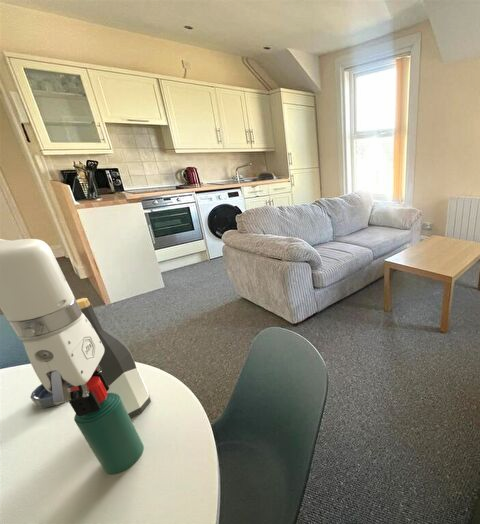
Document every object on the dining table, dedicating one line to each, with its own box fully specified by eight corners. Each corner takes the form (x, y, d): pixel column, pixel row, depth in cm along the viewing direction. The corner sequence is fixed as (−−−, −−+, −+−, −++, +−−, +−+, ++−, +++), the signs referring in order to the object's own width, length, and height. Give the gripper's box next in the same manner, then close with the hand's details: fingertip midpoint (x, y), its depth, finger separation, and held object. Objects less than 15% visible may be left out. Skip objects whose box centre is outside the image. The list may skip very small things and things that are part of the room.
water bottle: (97, 479, 54) (52, 407, 47) (113, 446, 60) (75, 378, 53) (136, 468, 56) (98, 397, 48) (148, 437, 62) (116, 370, 54)
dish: (26, 413, 69) (20, 404, 68) (51, 385, 77) (46, 376, 76) (70, 403, 71) (65, 394, 70) (90, 377, 79) (86, 369, 78)
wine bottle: (139, 389, 74) (93, 287, 63) (159, 399, 71) (114, 294, 59) (104, 414, 68) (45, 306, 56) (124, 426, 64) (65, 314, 53)
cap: (107, 387, 54) (99, 372, 53) (108, 400, 52) (100, 384, 50) (79, 399, 52) (70, 384, 50) (79, 413, 49) (69, 397, 48)
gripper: (52, 341, 39) (104, 432, 46) (97, 289, 53) (131, 365, 60) (-23, 358, 36) (44, 452, 44) (45, 299, 51) (87, 377, 58)
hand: (94, 401), depth 52 cm, fingers closed on cap, 3 cm apart
